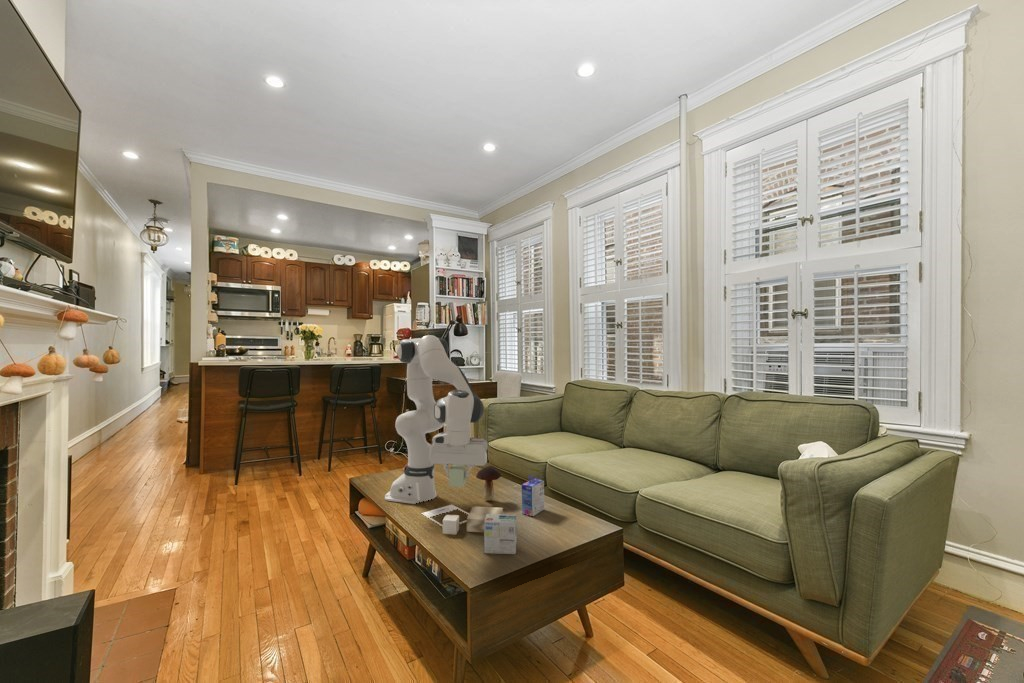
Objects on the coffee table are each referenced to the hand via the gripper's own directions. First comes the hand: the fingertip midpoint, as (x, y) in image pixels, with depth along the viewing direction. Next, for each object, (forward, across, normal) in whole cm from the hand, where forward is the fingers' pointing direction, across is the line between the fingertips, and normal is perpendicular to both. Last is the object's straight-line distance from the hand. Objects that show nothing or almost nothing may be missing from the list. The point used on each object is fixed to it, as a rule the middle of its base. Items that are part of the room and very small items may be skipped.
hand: (457, 476), depth 152 cm
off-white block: (+22, +4, -7) cm, 24 cm away
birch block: (+22, -8, -13) cm, 27 cm away
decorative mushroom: (+23, -5, -39) cm, 45 cm away
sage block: (+3, 0, 0) cm, 3 cm away
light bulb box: (+22, -16, +5) cm, 28 cm away
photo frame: (+23, +8, -20) cm, 31 cm away
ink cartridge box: (+22, -25, -29) cm, 44 cm away
